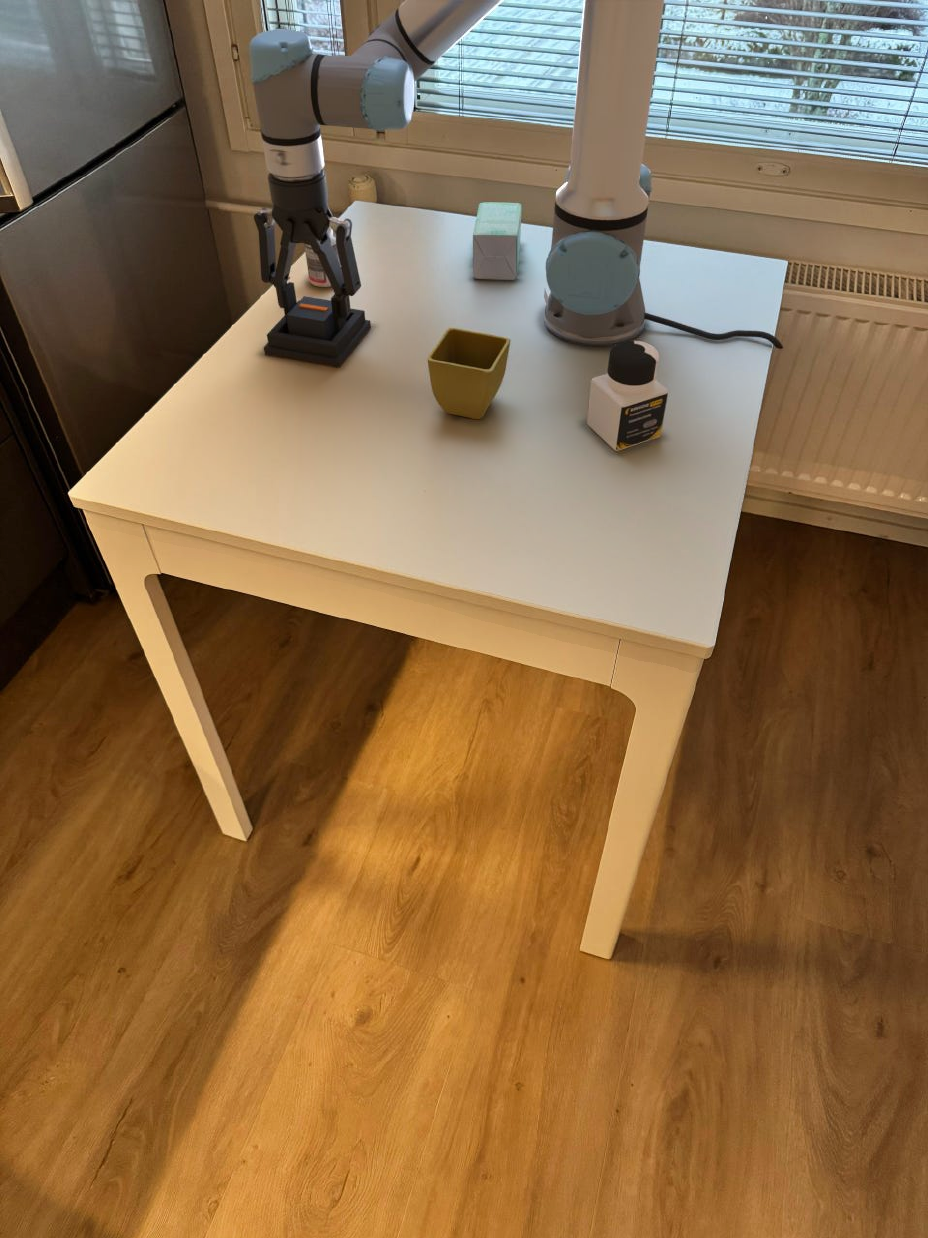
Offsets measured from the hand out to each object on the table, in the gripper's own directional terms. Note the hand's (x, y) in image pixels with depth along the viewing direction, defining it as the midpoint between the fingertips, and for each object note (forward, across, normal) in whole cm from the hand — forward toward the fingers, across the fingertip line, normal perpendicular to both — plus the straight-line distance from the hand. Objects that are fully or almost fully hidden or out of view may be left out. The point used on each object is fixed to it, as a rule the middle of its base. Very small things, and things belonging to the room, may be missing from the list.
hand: (317, 331), depth 136 cm
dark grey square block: (0, 0, 0) cm, 0 cm away
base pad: (+1, 0, 0) cm, 1 cm away
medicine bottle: (+2, +48, -9) cm, 49 cm away
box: (+2, +18, +33) cm, 38 cm away
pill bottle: (+2, -7, +18) cm, 19 cm away
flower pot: (+2, +27, -10) cm, 29 cm away
